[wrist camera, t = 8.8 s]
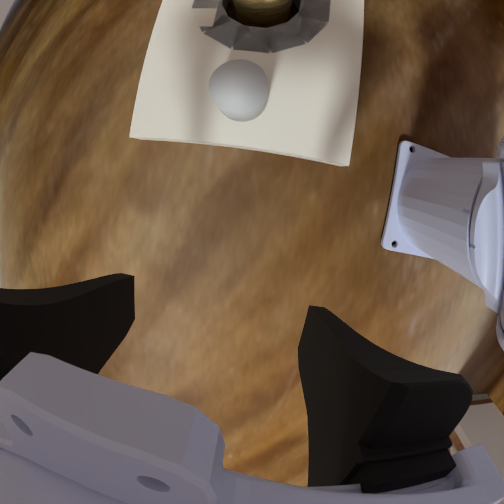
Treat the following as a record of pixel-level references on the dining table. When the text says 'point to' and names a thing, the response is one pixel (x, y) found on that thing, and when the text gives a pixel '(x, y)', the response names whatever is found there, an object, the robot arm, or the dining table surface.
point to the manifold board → (290, 84)
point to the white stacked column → (481, 431)
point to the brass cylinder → (262, 12)
